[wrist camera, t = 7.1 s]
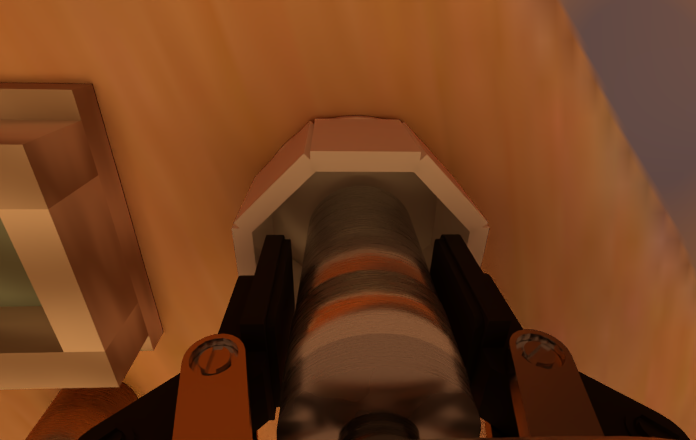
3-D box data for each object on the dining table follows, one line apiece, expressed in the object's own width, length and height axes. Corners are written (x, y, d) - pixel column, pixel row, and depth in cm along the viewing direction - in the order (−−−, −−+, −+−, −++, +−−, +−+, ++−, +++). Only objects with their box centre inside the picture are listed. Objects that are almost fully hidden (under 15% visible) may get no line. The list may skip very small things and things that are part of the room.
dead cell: (408, 277, 15) (474, 530, 8) (308, 276, 15) (275, 532, 8) (419, 184, 14) (520, 402, 6) (304, 183, 13) (257, 402, 6)
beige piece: (433, 282, 18) (460, 353, 14) (267, 284, 18) (250, 357, 14) (459, 116, 15) (506, 152, 11) (250, 114, 14) (220, 150, 10)
